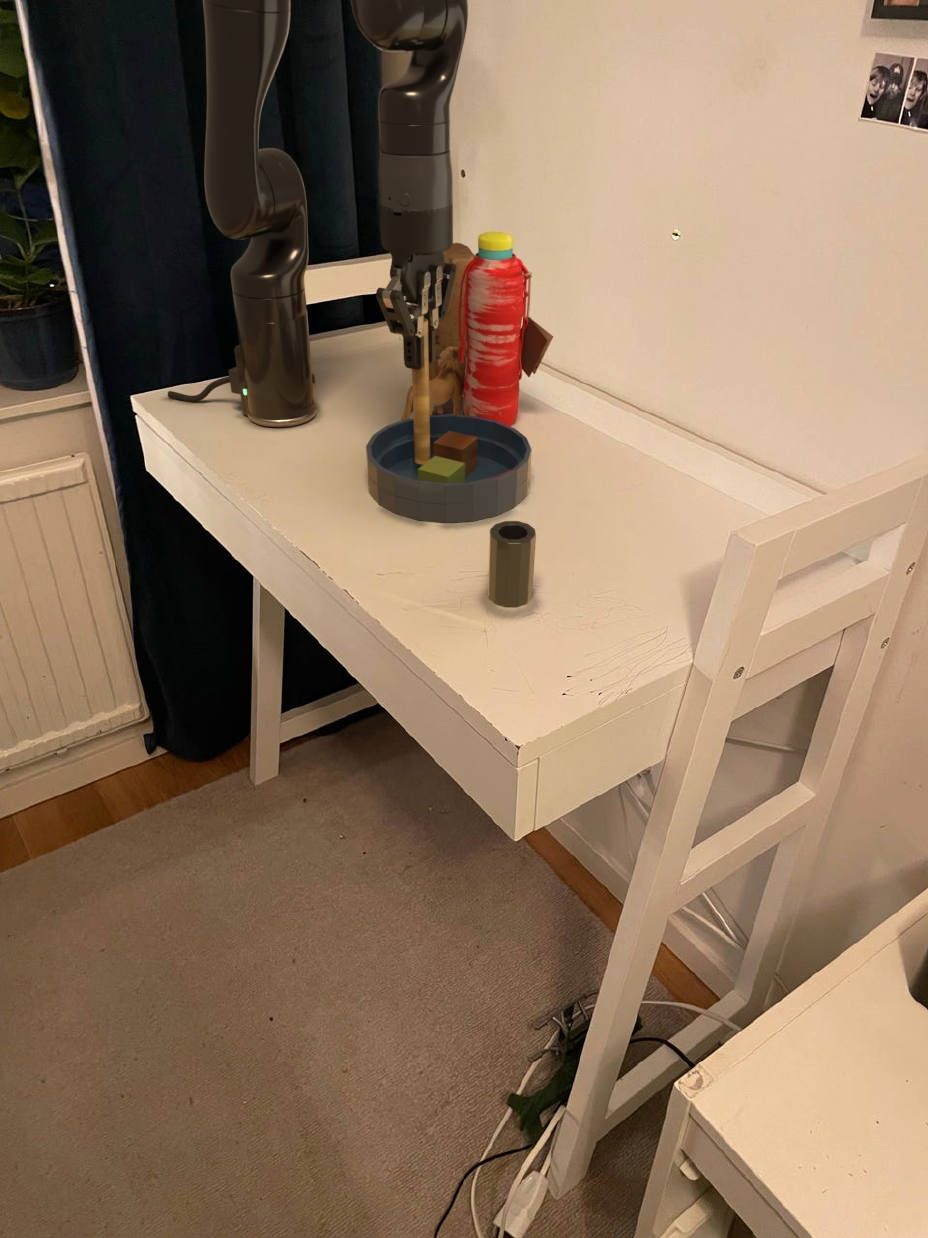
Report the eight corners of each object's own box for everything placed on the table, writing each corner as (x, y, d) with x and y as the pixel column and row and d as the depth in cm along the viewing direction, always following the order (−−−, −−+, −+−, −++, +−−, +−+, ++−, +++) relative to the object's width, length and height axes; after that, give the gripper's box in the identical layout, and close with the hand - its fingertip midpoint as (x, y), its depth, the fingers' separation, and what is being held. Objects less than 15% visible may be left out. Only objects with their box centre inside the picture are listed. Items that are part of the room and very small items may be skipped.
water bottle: (535, 410, 132) (546, 223, 118) (550, 433, 126) (564, 238, 112) (452, 416, 130) (452, 226, 116) (463, 440, 124) (465, 242, 110)
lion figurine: (442, 401, 134) (442, 339, 129) (476, 408, 132) (477, 346, 127) (390, 440, 123) (388, 374, 118) (426, 448, 121) (425, 381, 116)
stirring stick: (411, 462, 112) (407, 320, 102) (419, 456, 113) (416, 315, 103) (425, 466, 111) (422, 323, 101) (433, 459, 112) (431, 318, 103)
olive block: (418, 500, 109) (417, 468, 106) (435, 486, 112) (435, 455, 109) (448, 508, 107) (448, 476, 105) (464, 493, 110) (465, 462, 108)
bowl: (337, 503, 109) (334, 460, 106) (420, 442, 123) (419, 403, 120) (482, 544, 102) (483, 500, 99) (553, 475, 116) (556, 434, 113)
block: (479, 399, 135) (482, 256, 124) (428, 403, 134) (426, 258, 122) (463, 372, 144) (464, 236, 132) (415, 376, 143) (412, 238, 131)
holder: (480, 606, 93) (482, 536, 88) (500, 585, 96) (502, 516, 91) (519, 618, 91) (523, 547, 86) (538, 596, 94) (542, 527, 89)
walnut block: (433, 472, 114) (433, 442, 112) (449, 460, 117) (449, 430, 115) (462, 479, 113) (462, 449, 111) (477, 467, 116) (477, 437, 113)
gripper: (418, 183, 102) (422, 341, 112) (347, 207, 92) (358, 378, 102) (479, 190, 99) (477, 351, 109) (413, 216, 89) (417, 390, 99)
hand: (419, 363), depth 105 cm, fingers closed on stirring stick, 2 cm apart
